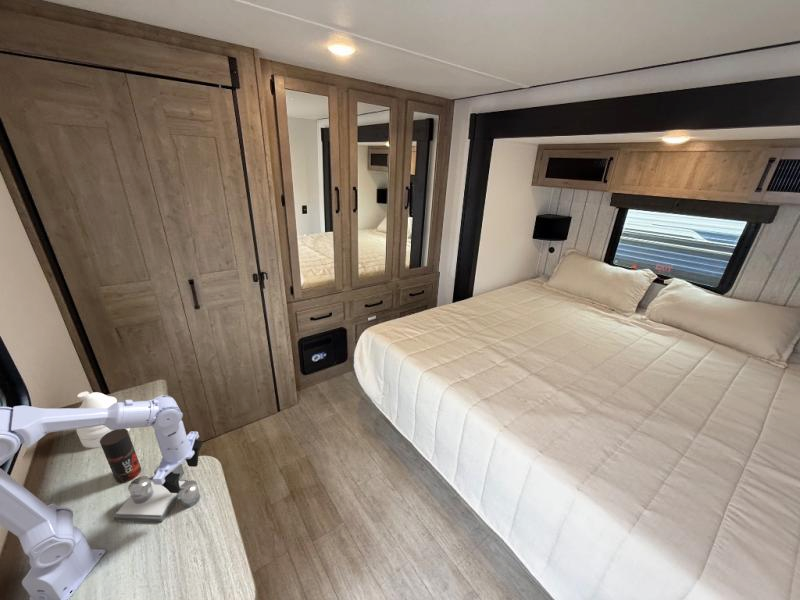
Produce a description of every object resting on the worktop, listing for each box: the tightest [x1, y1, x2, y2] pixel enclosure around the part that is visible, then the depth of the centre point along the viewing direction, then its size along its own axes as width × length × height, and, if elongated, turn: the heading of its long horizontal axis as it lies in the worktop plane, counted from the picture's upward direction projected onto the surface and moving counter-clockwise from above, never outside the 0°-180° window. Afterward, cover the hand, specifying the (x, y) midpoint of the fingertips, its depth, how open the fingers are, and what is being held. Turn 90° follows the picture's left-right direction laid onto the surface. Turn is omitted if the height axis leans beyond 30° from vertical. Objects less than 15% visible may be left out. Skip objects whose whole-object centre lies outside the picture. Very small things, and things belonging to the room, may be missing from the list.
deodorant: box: [100, 429, 142, 484], centre depth 89 cm, size 6×6×15 cm
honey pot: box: [76, 390, 132, 449], centre depth 102 cm, size 13×13×18 cm
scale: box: [112, 463, 189, 523], centre depth 86 cm, size 14×12×4 cm
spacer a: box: [127, 475, 154, 504], centre depth 84 cm, size 4×4×5 cm
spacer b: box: [178, 480, 201, 509], centre depth 85 cm, size 4×4×5 cm
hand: (184, 478), depth 83 cm, fingers open, 7 cm apart
